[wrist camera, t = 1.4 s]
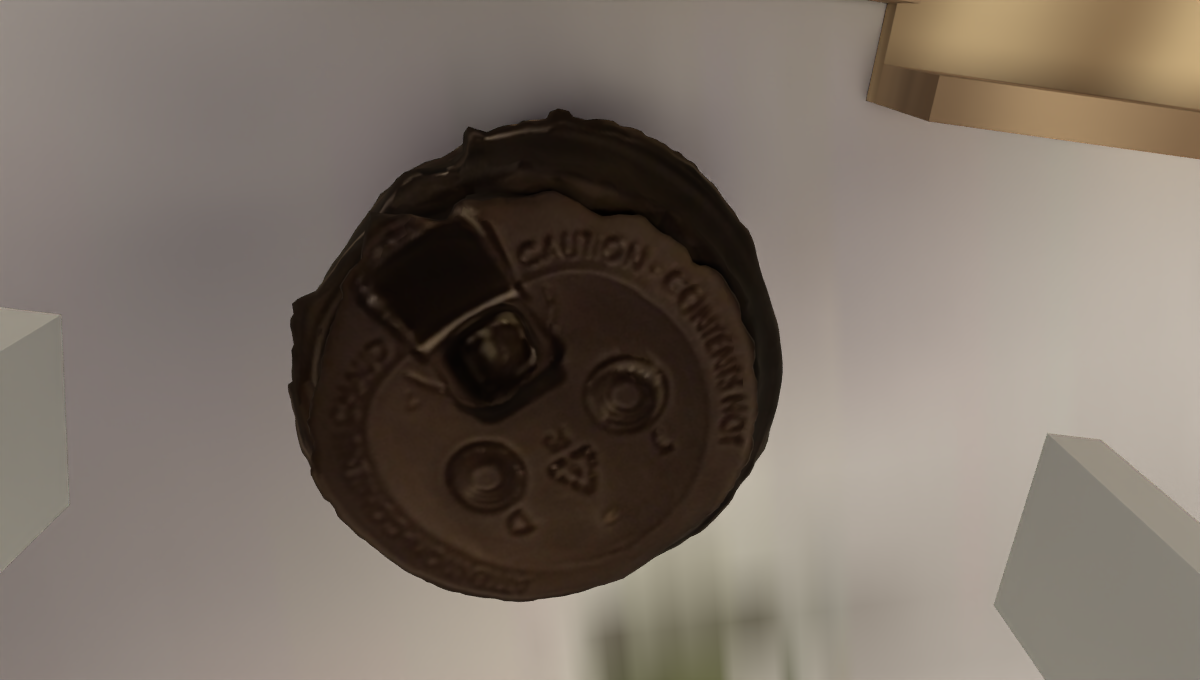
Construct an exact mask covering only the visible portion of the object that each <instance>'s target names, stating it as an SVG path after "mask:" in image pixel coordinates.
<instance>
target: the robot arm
mask: <svg viewBox="0 0 1200 680" xmlns="http://www.w3.org/2000/svg"><path fill="white" fill-rule="evenodd" d="M68 506H69V482H68V459H67V436H66V413H65V390H64V367H63V344H62V321H61V314H52V313H44V312H36V311H27V310H19V309H11V308H2V307H0V573H1V572H2V571H3V570H4V569H5V568H6V567H7V566H8V565H9V564H10V563H11V562H12V561H13V560H14V559H15V558H16V557H17V556H18V555H19V554H20V553H21V552H22V551H23V550H24V549H25V548H26V547H27V546H28V545H29V544H30V543H31V542H32V541H34V540H35V539H36V538H37V537H38V536H39V535H40V534H41V533H42V532H43V531H44V530H45V529H46V528H47V527H48V526H49V525H50V524H51V523H52V522H53V521H54V520H55V519H56V518H57V517H58V516H59V515H60V514H61V513H62V512H63V511H64V510H65V509H66V508H67V507H68ZM994 606H995V608H996V609H997V610H998V612H999V613H1000V615H1001V616H1002V618H1003V619H1004V621H1005V622H1006V624H1007V625H1008V626H1009V628H1010V629H1011V631H1012V632H1013V634H1014V635H1015V637H1016V638H1017V640H1018V641H1019V642H1020V644H1021V645H1022V647H1023V648H1024V650H1025V651H1026V653H1027V654H1028V656H1029V657H1030V659H1031V660H1032V661H1033V663H1034V664H1035V666H1036V667H1037V669H1038V670H1039V672H1040V673H1041V675H1042V676H1043V677H1044V679H1045V680H1200V523H1199V522H1198V521H1197V520H1196V519H1195V518H1193V517H1192V516H1191V515H1190V514H1189V513H1188V512H1186V511H1185V510H1184V509H1183V508H1182V507H1180V506H1179V505H1178V504H1177V503H1176V502H1174V501H1173V500H1172V499H1171V498H1170V497H1168V496H1167V495H1166V494H1165V493H1164V492H1163V491H1161V490H1160V489H1159V488H1158V487H1157V486H1155V485H1154V484H1153V483H1152V482H1151V481H1149V480H1148V479H1147V478H1146V477H1145V476H1144V475H1142V474H1141V473H1140V472H1139V471H1138V470H1136V469H1135V468H1134V467H1133V466H1132V465H1130V464H1129V463H1128V462H1127V461H1126V460H1124V459H1123V458H1122V457H1121V456H1120V455H1119V454H1117V453H1116V452H1115V451H1114V450H1113V449H1111V448H1110V447H1109V446H1108V445H1107V444H1105V443H1104V442H1103V441H1102V440H1098V439H1090V438H1082V437H1073V436H1065V435H1057V434H1049V433H1047V436H1046V439H1045V442H1044V446H1043V449H1042V452H1041V455H1040V458H1039V462H1038V465H1037V468H1036V471H1035V474H1034V478H1033V481H1032V484H1031V487H1030V490H1029V494H1028V497H1027V500H1026V503H1025V506H1024V510H1023V513H1022V516H1021V519H1020V522H1019V526H1018V529H1017V532H1016V535H1015V538H1014V542H1013V545H1012V548H1011V551H1010V554H1009V558H1008V561H1007V564H1006V567H1005V570H1004V574H1003V577H1002V580H1001V583H1000V586H999V590H998V593H997V596H996V599H995V602H994Z"/></svg>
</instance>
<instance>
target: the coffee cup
mask: <svg viewBox="0 0 1200 680" xmlns="http://www.w3.org/2000/svg"><path fill="white" fill-rule="evenodd" d="M292 306H293V313H294V314H293V316H292V317H291V320H290V327H291V331H292V336H293V342H294V345H293V348H292V350H291V351H292V382H291V383H290V384H289V385H288V392H289V395H290V398H291V403H292V409H293V412H294V415H295V424H296V431H297V436H298V440H299V444H300V447H301V450H302V453H303V454H304V456H305V457H306V458H307V460H308V462H309V465H310V467H311V476H312V478H313V480H314V482H315V484H316V486H317V488H318V489H319V491H320V493H321V494H322V496H323V498H324V499H325V500H327V501H328V502H330V503H331V504H332V506H333V507H334V508H335V511H336V513H337V516H338V517H339V518H340V519H341V520H342V521H343V522H344V523H345V524H346V525H348V526H349V527H350V528H351V529H352V530H353V531H354V532H355V533H356V534H357V535H358V536H359V537H360V538H362V539H364V540H365V541H367V542H368V543H369V544H370V545H371V546H373V547H374V548H375V549H377V550H378V551H379V552H380V553H381V554H383V555H384V556H385V557H387V558H388V559H389V560H391V561H392V562H393V563H395V564H396V565H398V566H399V567H400V568H402V569H403V570H405V571H406V572H408V573H410V574H412V575H414V576H416V577H419V578H421V579H423V580H425V581H426V582H429V583H432V584H434V585H436V586H438V587H440V588H442V589H445V590H448V591H452V592H458V593H462V594H465V595H469V596H476V597H482V598H494V599H499V600H503V601H514V602H526V601H534V600H537V599H546V598H552V597H561V596H566V595H570V594H574V593H579V592H582V591H586V590H588V589H591V588H594V587H597V586H600V585H605V584H608V583H611V582H614V581H617V580H620V579H623V578H625V577H626V576H628V575H629V574H631V573H632V572H634V571H636V570H637V569H639V568H640V567H642V566H643V565H645V564H646V563H647V562H649V561H650V560H652V559H653V558H654V557H656V556H658V555H660V554H662V553H664V552H666V551H668V550H670V549H672V548H674V547H676V546H678V545H680V544H681V543H683V542H684V541H685V540H687V539H688V538H690V537H691V536H694V535H696V534H698V533H700V532H701V531H702V530H704V529H705V528H706V527H707V526H708V525H709V524H710V523H711V522H712V521H714V520H715V518H716V517H717V516H718V515H719V514H720V513H721V512H722V511H723V510H724V509H725V508H726V506H727V505H728V504H729V503H730V501H731V500H732V499H733V497H734V494H735V492H736V490H737V489H738V487H739V486H740V484H741V483H742V482H743V481H744V480H745V479H746V478H747V477H748V476H749V474H750V473H751V471H752V469H753V467H754V464H755V462H756V461H757V459H758V458H759V457H760V455H761V454H762V452H763V451H764V449H765V447H766V444H767V442H768V437H769V431H770V428H771V425H772V422H773V419H774V416H775V412H776V409H777V405H778V399H779V394H780V388H781V382H782V373H783V362H782V352H781V343H780V335H779V329H778V323H777V320H776V317H775V314H774V311H773V308H772V304H771V301H770V298H769V294H768V291H767V288H766V285H765V282H764V280H763V277H762V273H761V270H760V267H759V263H758V259H757V255H756V250H755V245H754V242H753V239H752V237H751V235H750V233H749V231H748V229H747V228H746V227H745V226H744V225H743V224H742V223H741V222H740V221H739V219H738V218H737V216H736V214H735V212H734V211H733V210H732V208H731V207H730V206H729V205H728V203H727V202H726V201H725V200H724V199H723V197H722V196H721V194H720V192H719V191H718V189H717V188H716V187H715V186H714V184H713V183H712V182H710V181H709V180H708V179H707V178H706V177H705V176H704V175H703V174H702V173H700V171H699V170H698V168H697V166H696V165H695V164H694V163H692V162H691V161H689V160H687V159H686V158H685V157H684V156H683V155H682V154H680V153H679V152H676V151H673V150H671V149H670V148H669V147H668V146H667V145H666V144H664V143H662V142H660V141H658V140H656V139H653V138H650V137H647V136H645V134H644V133H643V132H642V131H640V130H637V129H634V128H630V127H623V126H620V125H618V124H617V123H615V122H614V121H610V120H603V119H592V120H584V119H580V118H576V117H573V116H572V115H571V113H570V112H569V111H566V110H562V109H556V110H554V111H551V112H550V113H549V115H548V117H547V118H546V119H541V120H528V121H522V122H520V123H519V124H513V125H506V126H502V127H498V128H496V129H493V130H491V131H489V132H484V131H481V130H477V129H474V128H471V127H468V128H467V129H466V131H465V132H464V135H463V144H462V145H461V146H459V147H458V148H456V149H455V150H454V151H452V152H451V153H449V154H447V155H446V156H444V157H442V158H438V159H434V160H431V161H427V162H425V163H423V164H421V165H419V166H417V167H415V168H413V169H411V170H410V171H407V172H404V173H403V174H402V175H401V176H400V177H398V178H397V179H396V181H395V182H394V183H393V184H392V185H391V186H390V187H389V188H388V189H387V190H385V191H384V192H383V193H381V194H380V196H379V197H378V199H377V201H376V202H375V204H374V206H373V207H372V208H371V210H370V211H369V212H368V214H367V215H366V217H365V218H364V219H363V221H362V222H361V223H360V225H359V226H358V227H357V229H356V230H355V232H354V233H353V235H352V237H351V239H350V240H349V242H348V243H347V245H346V246H345V248H344V249H343V251H342V252H341V254H340V255H339V256H338V258H337V259H336V260H335V261H334V263H333V264H332V266H331V267H330V269H329V270H328V272H327V274H326V276H325V278H324V280H323V282H322V283H321V285H320V286H319V287H318V289H317V290H316V291H315V292H312V293H310V294H307V295H305V296H303V297H301V298H299V299H297V300H296V301H295V302H294V303H292Z"/></svg>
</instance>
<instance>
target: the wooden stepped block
mask: <svg viewBox="0 0 1200 680" xmlns="http://www.w3.org/2000/svg"><path fill="white" fill-rule="evenodd" d="M870 1H877V2H883V3H888V4H887V8H886V13H885V17H884V22H883V26H882V31H881V35H880V40H879V44H878V49H877V54H876V58H875V63H874V67H873V72H872V76H871V81H870V85H869V90H868V94H867V99H866V101H869V102H872V103H875V104H878V105H881V106H884V107H887V108H890V109H893V110H896V111H899V112H902V113H905V114H908V115H911V116H914V117H917V118H920V119H923V120H926V121H930V122H937V123H944V124H951V125H959V126H966V127H973V128H980V129H987V130H994V131H1002V132H1009V133H1016V134H1023V135H1030V136H1037V137H1044V138H1052V139H1059V140H1066V141H1073V142H1080V143H1087V144H1095V145H1102V146H1109V147H1116V148H1123V149H1130V150H1138V151H1145V152H1152V153H1159V154H1166V155H1173V156H1180V157H1188V158H1195V159H1200V0H870Z"/></svg>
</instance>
